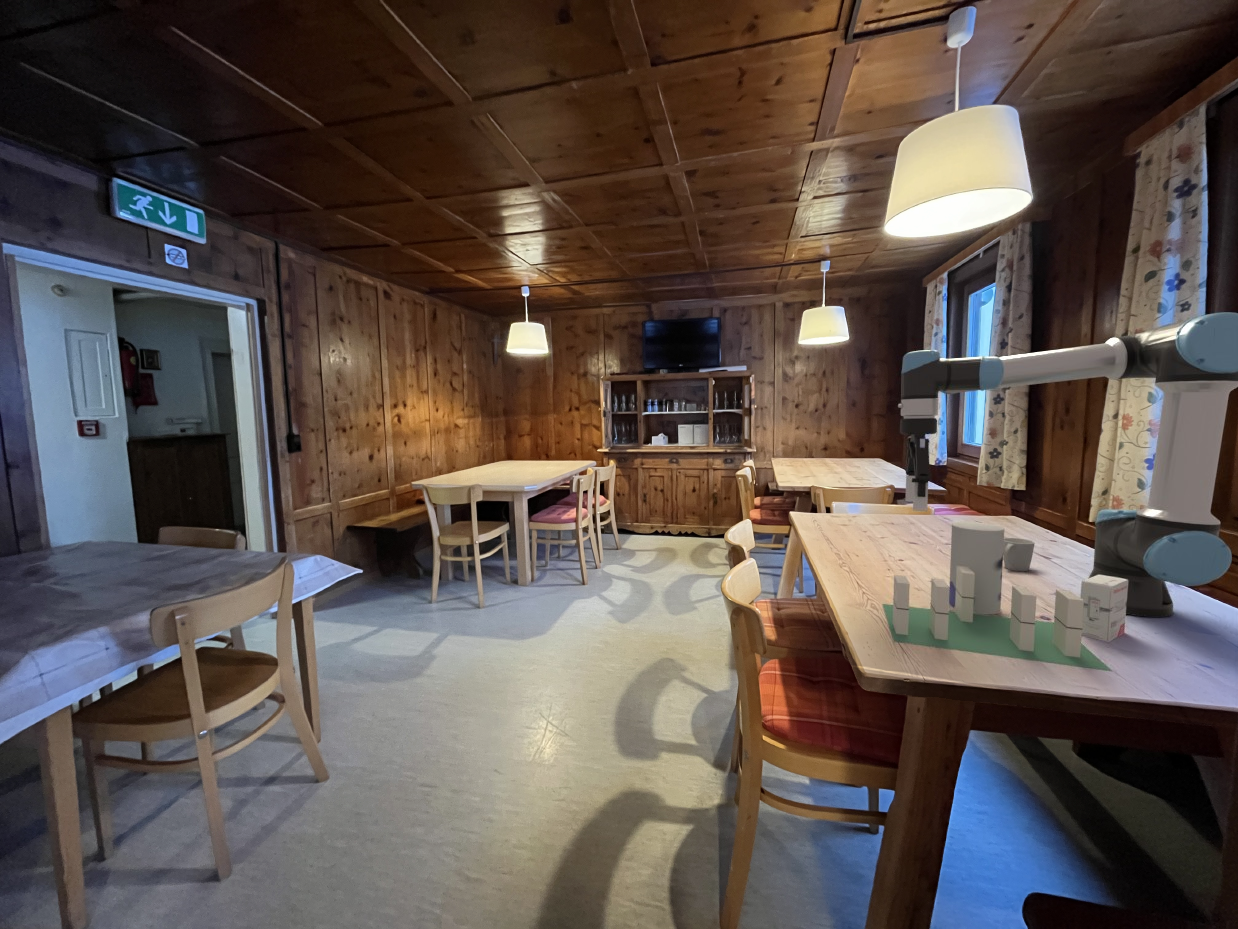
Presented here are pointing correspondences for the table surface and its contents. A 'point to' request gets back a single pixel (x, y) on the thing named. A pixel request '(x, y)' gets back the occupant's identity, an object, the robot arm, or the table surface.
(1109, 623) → the ink box
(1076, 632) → the domino
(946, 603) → the domino
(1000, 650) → the felt mat
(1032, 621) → the domino
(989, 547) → the container
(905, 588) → the domino
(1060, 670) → the table surface
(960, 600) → the domino
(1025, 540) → the cup
